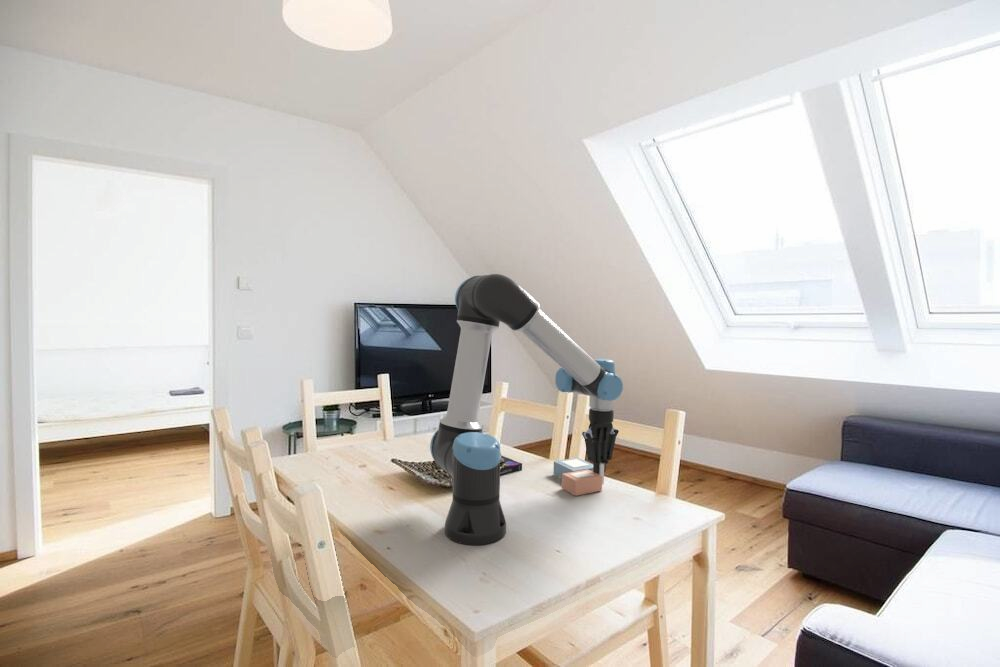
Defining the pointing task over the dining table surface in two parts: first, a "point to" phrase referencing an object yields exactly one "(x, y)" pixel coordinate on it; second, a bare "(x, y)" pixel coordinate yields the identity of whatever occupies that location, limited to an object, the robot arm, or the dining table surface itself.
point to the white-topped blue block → (571, 466)
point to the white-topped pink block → (581, 482)
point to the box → (510, 466)
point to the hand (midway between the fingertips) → (599, 483)
